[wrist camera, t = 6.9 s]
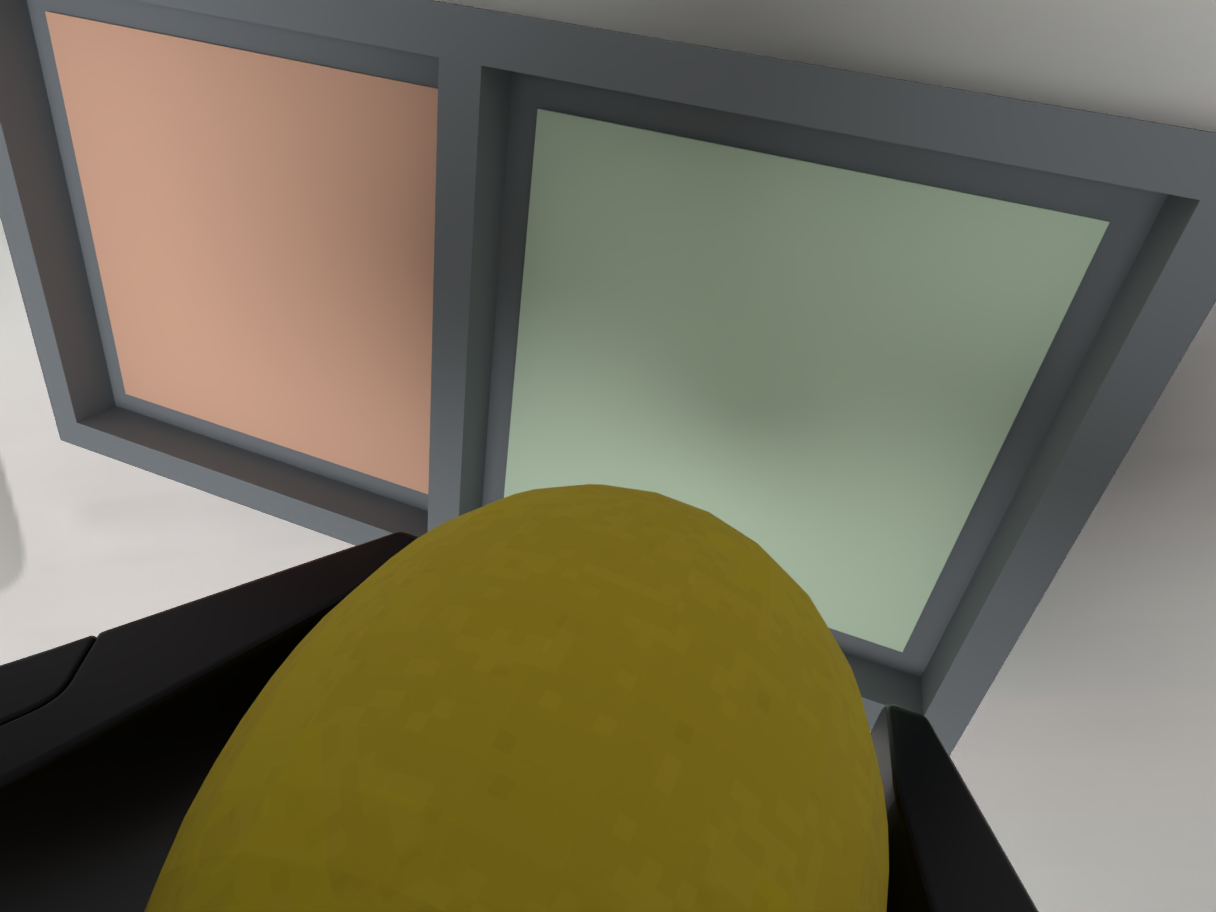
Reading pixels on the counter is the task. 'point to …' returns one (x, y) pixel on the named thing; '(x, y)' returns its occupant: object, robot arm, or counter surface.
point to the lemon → (551, 733)
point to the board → (604, 291)
